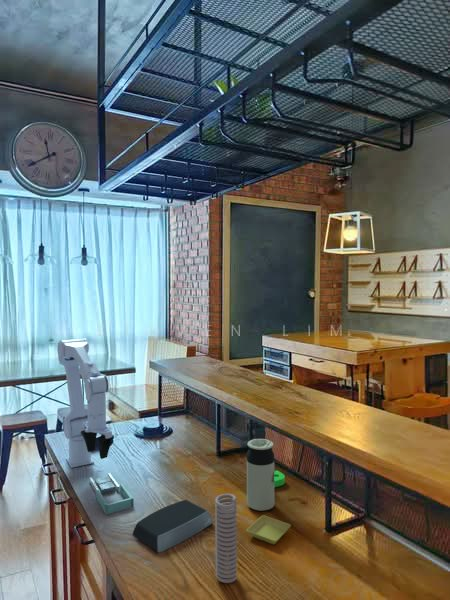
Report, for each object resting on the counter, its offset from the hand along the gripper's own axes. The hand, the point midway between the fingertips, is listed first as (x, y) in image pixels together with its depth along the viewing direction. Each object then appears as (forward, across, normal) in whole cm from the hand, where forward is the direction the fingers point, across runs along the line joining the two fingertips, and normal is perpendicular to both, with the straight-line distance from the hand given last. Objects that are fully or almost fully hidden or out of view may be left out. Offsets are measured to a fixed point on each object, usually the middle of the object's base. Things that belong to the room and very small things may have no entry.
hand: (97, 454), depth 141 cm
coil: (+8, +62, -6) cm, 63 cm away
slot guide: (+9, +5, -1) cm, 10 cm away
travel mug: (+9, +49, +24) cm, 55 cm away
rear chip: (+9, +4, 0) cm, 10 cm away
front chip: (+9, +8, -2) cm, 12 cm away
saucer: (+9, +59, +14) cm, 61 cm away
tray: (+9, +16, -4) cm, 18 cm away
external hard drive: (+9, +39, -1) cm, 40 cm away
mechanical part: (+9, +42, +36) cm, 56 cm away
